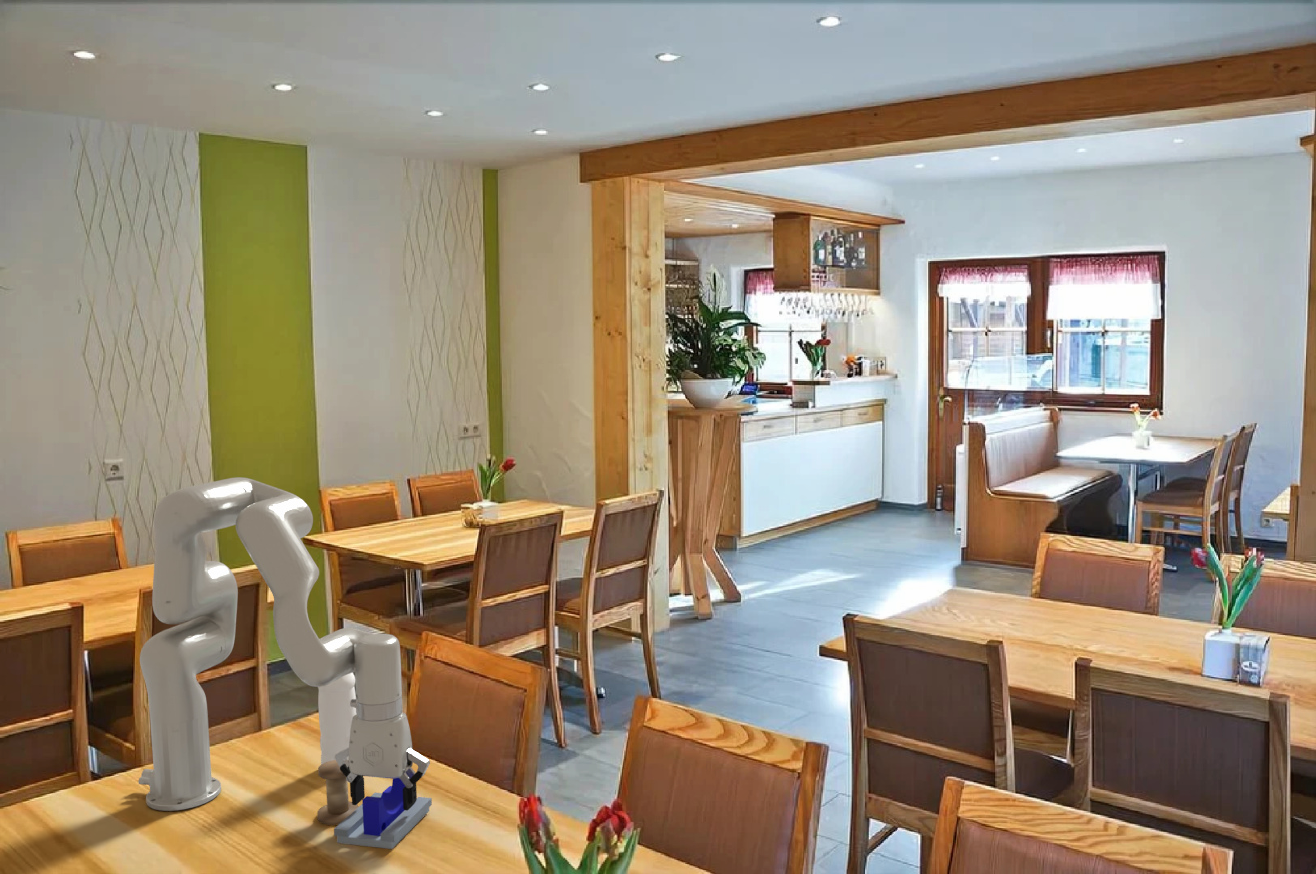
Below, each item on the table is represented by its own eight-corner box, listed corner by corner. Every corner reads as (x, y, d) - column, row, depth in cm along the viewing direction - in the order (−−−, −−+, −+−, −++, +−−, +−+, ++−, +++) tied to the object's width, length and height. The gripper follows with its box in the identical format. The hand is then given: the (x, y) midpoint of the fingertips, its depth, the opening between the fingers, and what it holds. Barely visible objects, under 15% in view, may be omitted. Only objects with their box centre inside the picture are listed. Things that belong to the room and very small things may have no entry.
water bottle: (353, 776, 203) (347, 649, 200) (316, 776, 203) (310, 649, 201) (363, 761, 210) (358, 638, 207) (328, 761, 210) (322, 638, 208)
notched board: (334, 842, 177) (333, 829, 177) (375, 805, 191) (374, 792, 191) (394, 849, 175) (394, 835, 174) (432, 811, 188) (431, 798, 188)
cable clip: (390, 802, 189) (389, 769, 189) (413, 804, 188) (412, 772, 188) (355, 833, 178) (354, 799, 177) (380, 836, 177) (378, 801, 176)
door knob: (309, 822, 184) (307, 773, 183) (331, 805, 191) (328, 756, 190) (346, 826, 183) (343, 776, 182) (366, 808, 190) (364, 760, 189)
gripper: (322, 712, 179) (326, 809, 181) (416, 719, 175) (420, 819, 177) (345, 696, 186) (349, 790, 188) (436, 703, 182) (439, 799, 184)
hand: (383, 804), depth 182 cm, fingers open, 9 cm apart
